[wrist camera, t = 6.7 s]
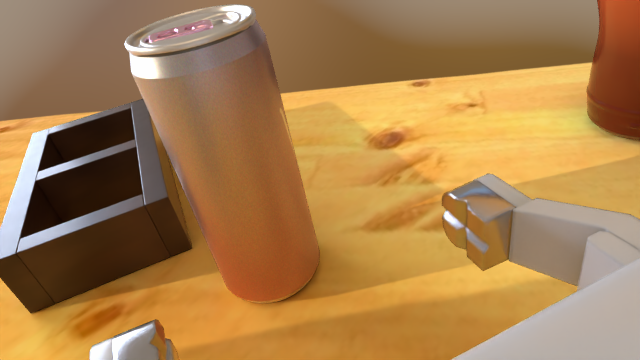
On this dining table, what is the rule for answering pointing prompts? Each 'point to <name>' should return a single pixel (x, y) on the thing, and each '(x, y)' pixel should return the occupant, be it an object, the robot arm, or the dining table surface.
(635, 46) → the mug
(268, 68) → the beverage can
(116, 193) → the holder
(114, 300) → the dining table surface
